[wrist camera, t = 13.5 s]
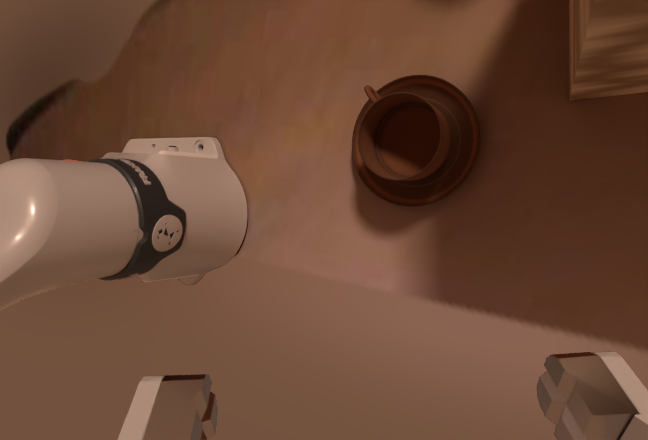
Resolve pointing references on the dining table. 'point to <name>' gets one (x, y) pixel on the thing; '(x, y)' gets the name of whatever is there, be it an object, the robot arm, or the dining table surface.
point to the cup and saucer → (415, 140)
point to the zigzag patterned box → (607, 48)
